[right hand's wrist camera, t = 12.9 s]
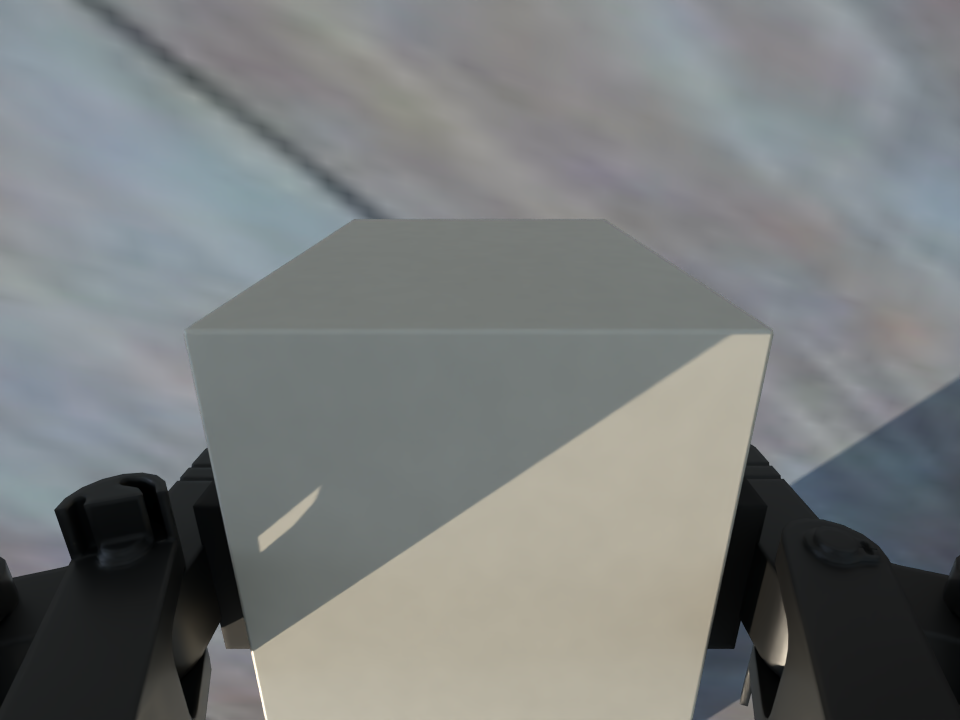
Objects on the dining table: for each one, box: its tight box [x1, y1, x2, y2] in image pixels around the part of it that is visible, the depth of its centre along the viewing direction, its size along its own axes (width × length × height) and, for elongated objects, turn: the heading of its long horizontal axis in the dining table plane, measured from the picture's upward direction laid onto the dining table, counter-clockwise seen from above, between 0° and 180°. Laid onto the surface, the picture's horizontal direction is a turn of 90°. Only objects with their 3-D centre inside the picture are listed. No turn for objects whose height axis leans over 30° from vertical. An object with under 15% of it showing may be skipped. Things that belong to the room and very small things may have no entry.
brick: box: [184, 219, 773, 720], centre depth 12 cm, size 8×6×9 cm
